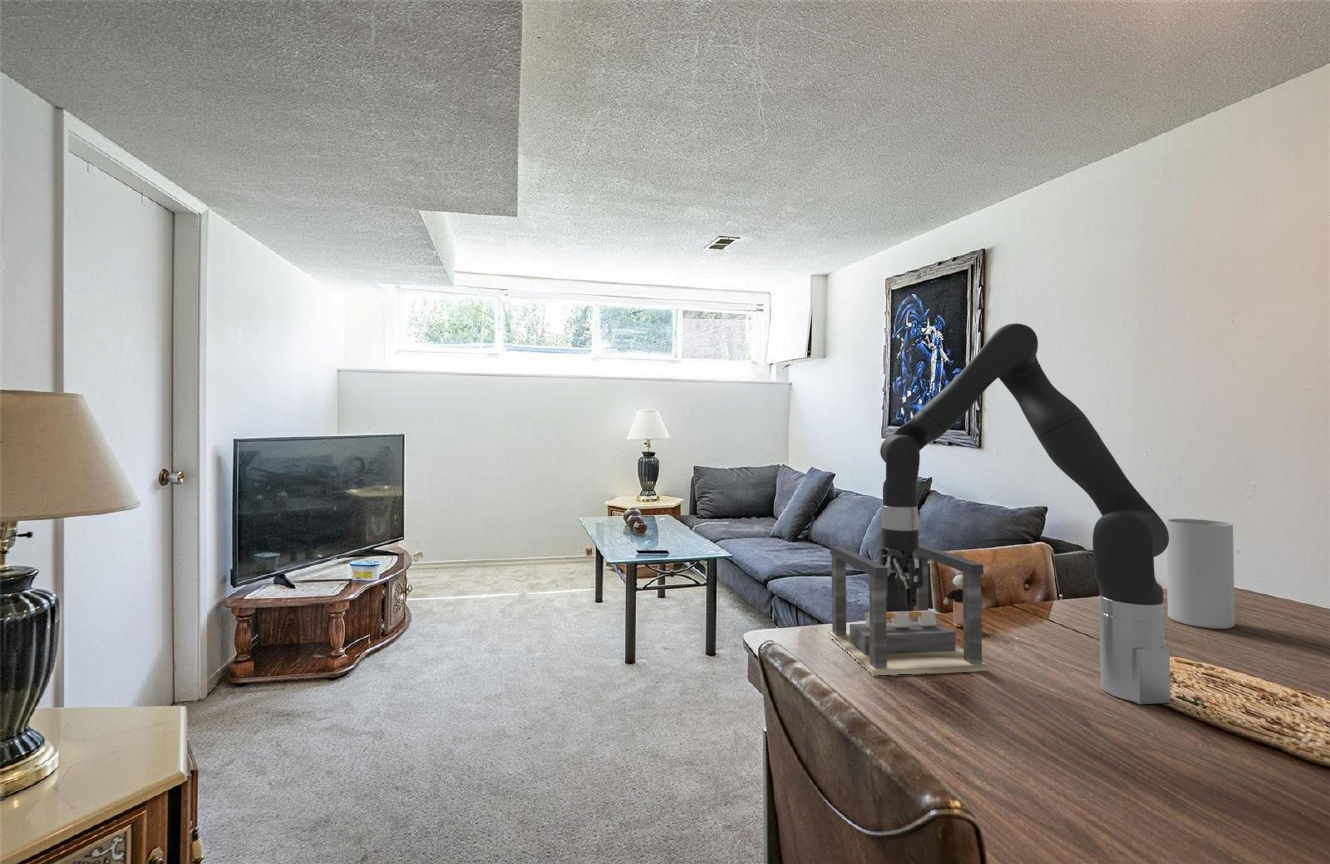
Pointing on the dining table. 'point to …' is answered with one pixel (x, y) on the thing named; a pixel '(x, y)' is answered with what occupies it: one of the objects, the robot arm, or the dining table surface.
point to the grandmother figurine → (956, 600)
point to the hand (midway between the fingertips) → (900, 600)
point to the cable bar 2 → (950, 560)
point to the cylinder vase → (1200, 573)
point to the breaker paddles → (903, 617)
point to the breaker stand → (908, 631)
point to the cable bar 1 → (859, 562)
